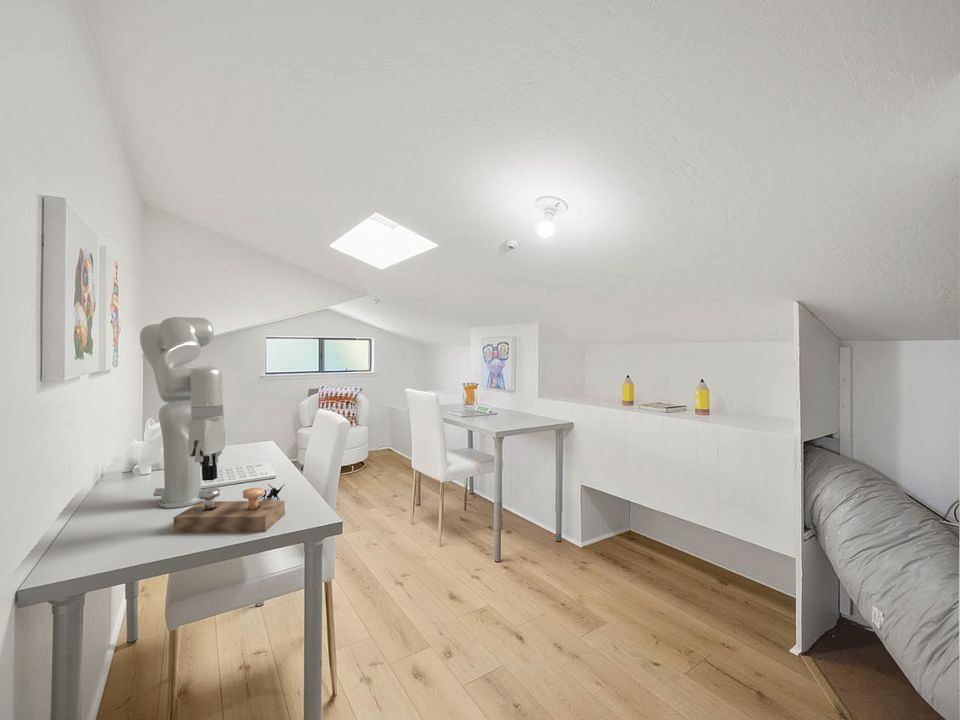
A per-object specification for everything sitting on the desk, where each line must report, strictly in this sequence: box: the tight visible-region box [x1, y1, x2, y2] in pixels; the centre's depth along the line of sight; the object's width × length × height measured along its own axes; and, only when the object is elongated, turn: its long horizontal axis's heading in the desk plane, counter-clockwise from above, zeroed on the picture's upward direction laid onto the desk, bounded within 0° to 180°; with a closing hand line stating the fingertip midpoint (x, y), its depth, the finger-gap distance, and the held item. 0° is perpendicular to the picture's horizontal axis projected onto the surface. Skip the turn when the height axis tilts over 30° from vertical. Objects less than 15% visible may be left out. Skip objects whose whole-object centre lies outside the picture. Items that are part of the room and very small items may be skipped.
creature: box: [258, 483, 285, 501], centre depth 142 cm, size 8×5×8 cm
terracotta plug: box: [242, 487, 264, 511], centre depth 125 cm, size 5×5×5 cm
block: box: [172, 500, 286, 533], centre depth 125 cm, size 24×12×4 cm, turn 90°
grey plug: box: [199, 487, 221, 511], centre depth 125 cm, size 5×5×5 cm
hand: (209, 479), depth 125 cm, fingers closed
